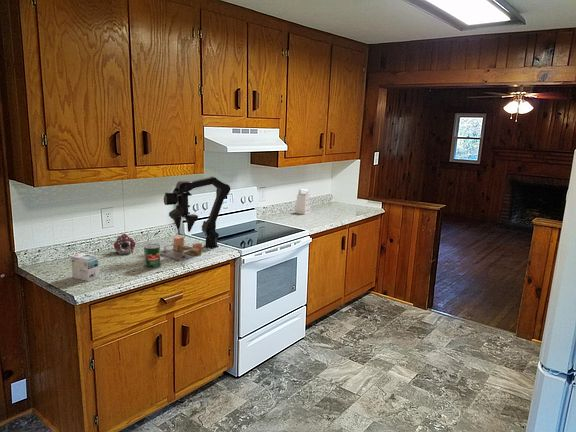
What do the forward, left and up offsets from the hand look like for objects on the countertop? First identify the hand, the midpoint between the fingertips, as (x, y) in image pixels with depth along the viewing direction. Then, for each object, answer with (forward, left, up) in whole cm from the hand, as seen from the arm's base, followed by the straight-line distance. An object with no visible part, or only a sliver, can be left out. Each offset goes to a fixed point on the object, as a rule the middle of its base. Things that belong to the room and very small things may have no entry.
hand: (183, 230), depth 251 cm
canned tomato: (+30, +10, -12) cm, 34 cm away
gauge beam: (+5, +4, -12) cm, 13 cm away
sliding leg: (+5, -3, -11) cm, 13 cm away
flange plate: (+11, +4, -12) cm, 17 cm away
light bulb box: (+60, 0, -12) cm, 61 cm away
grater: (-143, -12, -12) cm, 144 cm away
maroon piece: (+25, -21, -12) cm, 34 cm away
